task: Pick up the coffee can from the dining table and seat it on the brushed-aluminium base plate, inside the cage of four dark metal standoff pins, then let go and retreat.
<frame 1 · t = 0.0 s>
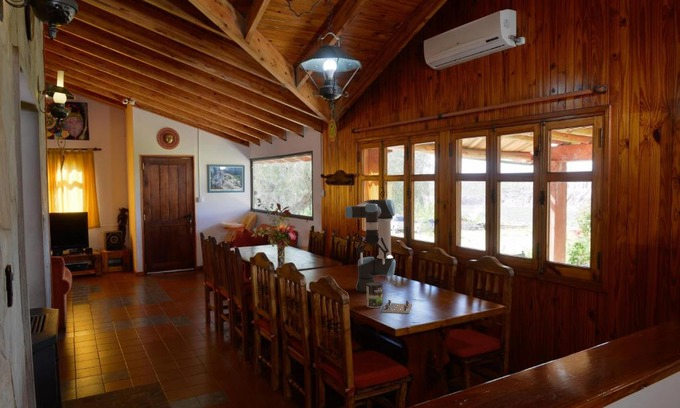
hand: (372, 263, 305), 28 cm above the table, fingers open, 13 cm apart
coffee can: (374, 306, 313), on the table
pin plate: (397, 309, 304), on the table
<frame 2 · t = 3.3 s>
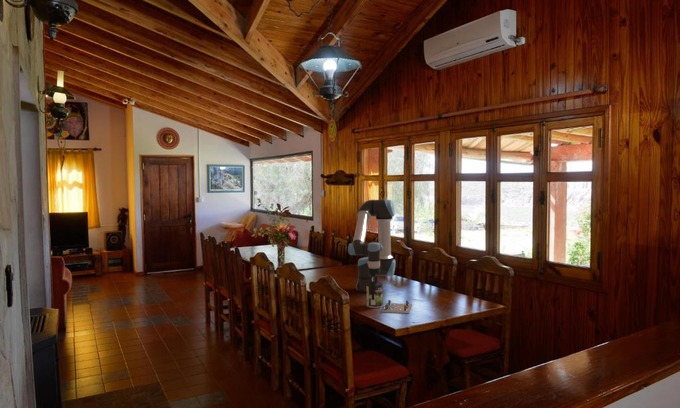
hand: (374, 302, 313), 2 cm above the table, fingers closed on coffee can, 10 cm apart
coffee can: (374, 306, 313), on the table, touching gripper
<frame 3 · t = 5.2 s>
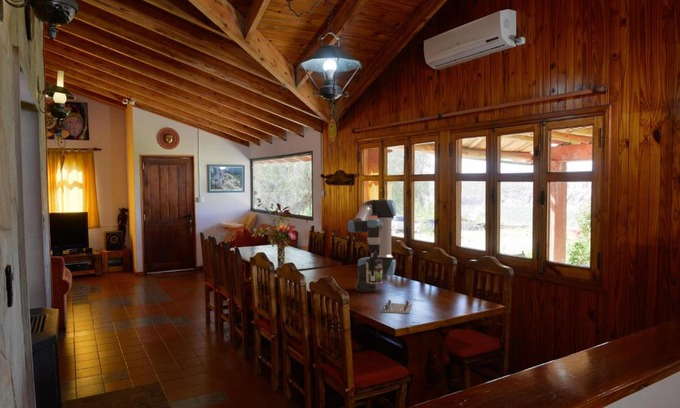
hand: (374, 278, 313), 17 cm above the table, fingers closed on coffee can, 10 cm apart
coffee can: (374, 282, 313), point 15 cm above the table, touching gripper
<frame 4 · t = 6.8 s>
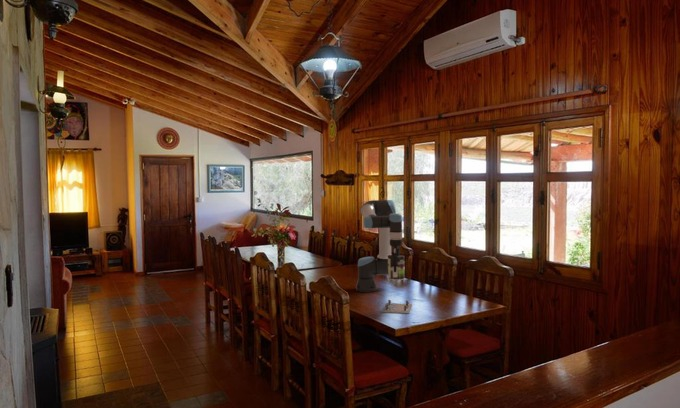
hand: (396, 275, 303), 21 cm above the table, fingers closed on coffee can, 10 cm apart
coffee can: (396, 279, 303), point 19 cm above the table, touching gripper
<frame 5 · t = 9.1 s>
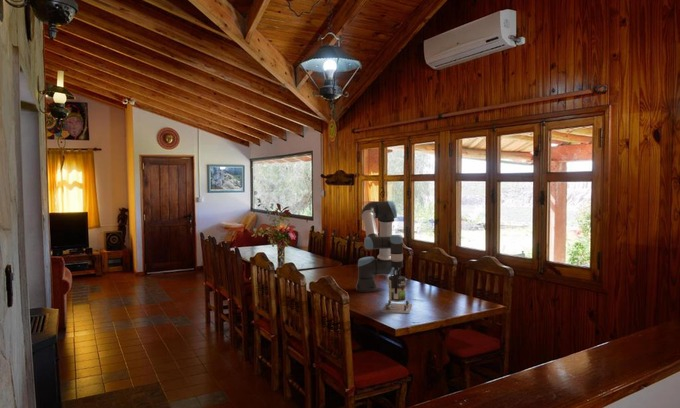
hand: (397, 296, 304), 8 cm above the table, fingers closed on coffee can, 10 cm apart
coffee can: (397, 300, 304), point 6 cm above the table, touching gripper
when the fingers open (5 cm above the table, at t = 10.7 s): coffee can drops 1 cm, resting on pin plate.
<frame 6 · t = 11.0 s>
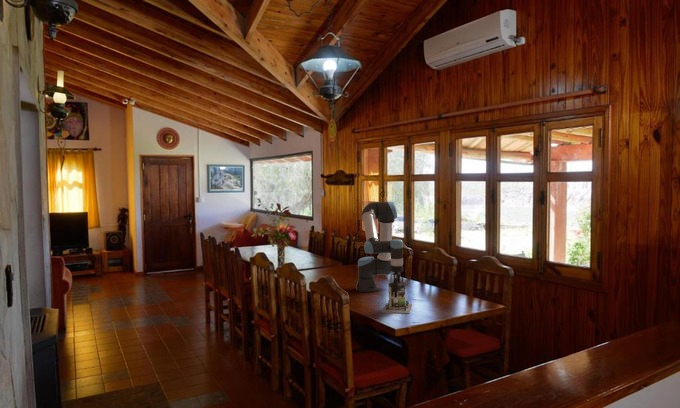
hand: (397, 299, 304), 6 cm above the table, fingers open, 13 cm apart
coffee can: (397, 307, 304), point 1 cm above the table, touching pin plate
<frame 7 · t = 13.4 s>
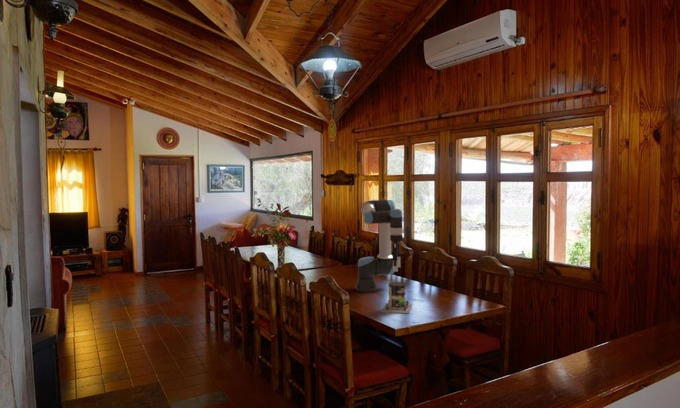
hand: (396, 269, 303), 25 cm above the table, fingers open, 13 cm apart
nothing on the table moved.
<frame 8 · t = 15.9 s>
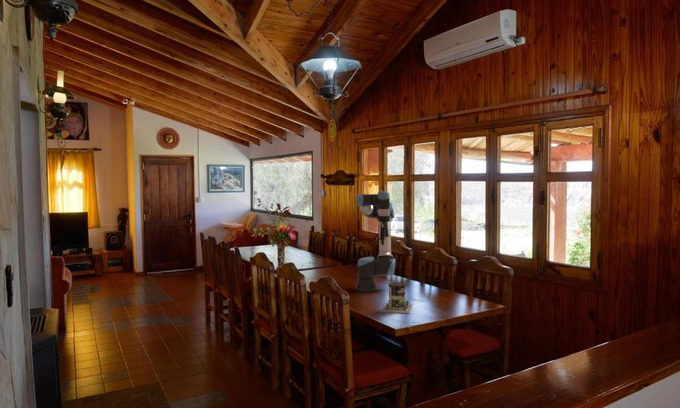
hand: (384, 248, 322), 35 cm above the table, fingers open, 13 cm apart
nothing on the table moved.
at the end: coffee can 0.1 cm off-centre on the pin plate, point 1.3 cm above the pin plate's base; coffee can tilted 0°; the gripper is holding nothing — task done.
